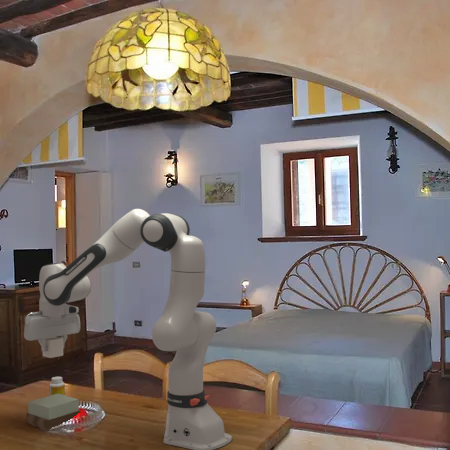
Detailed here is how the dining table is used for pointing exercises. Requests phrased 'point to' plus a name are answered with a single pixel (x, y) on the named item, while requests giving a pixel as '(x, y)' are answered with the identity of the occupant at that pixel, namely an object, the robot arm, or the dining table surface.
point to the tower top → (53, 406)
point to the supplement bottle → (56, 386)
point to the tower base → (46, 423)
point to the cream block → (53, 347)
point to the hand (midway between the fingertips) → (53, 349)
